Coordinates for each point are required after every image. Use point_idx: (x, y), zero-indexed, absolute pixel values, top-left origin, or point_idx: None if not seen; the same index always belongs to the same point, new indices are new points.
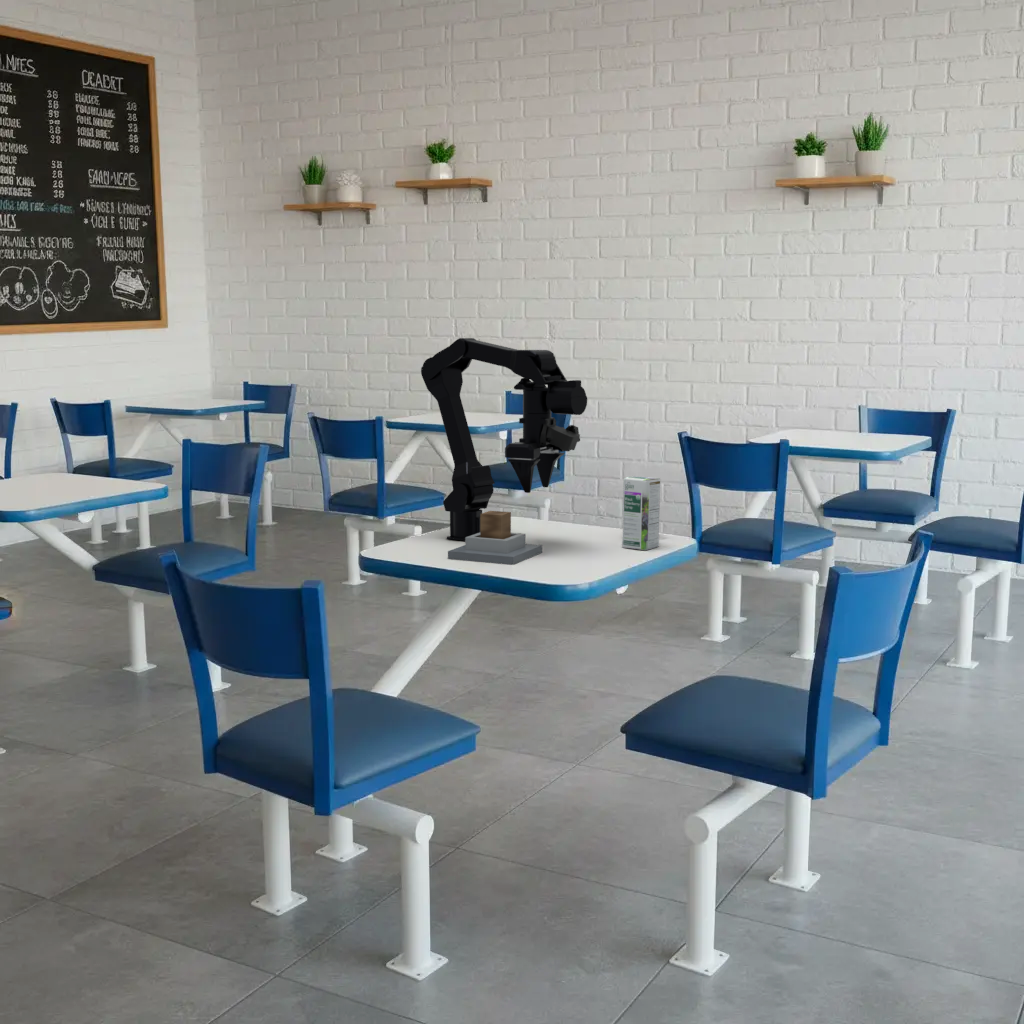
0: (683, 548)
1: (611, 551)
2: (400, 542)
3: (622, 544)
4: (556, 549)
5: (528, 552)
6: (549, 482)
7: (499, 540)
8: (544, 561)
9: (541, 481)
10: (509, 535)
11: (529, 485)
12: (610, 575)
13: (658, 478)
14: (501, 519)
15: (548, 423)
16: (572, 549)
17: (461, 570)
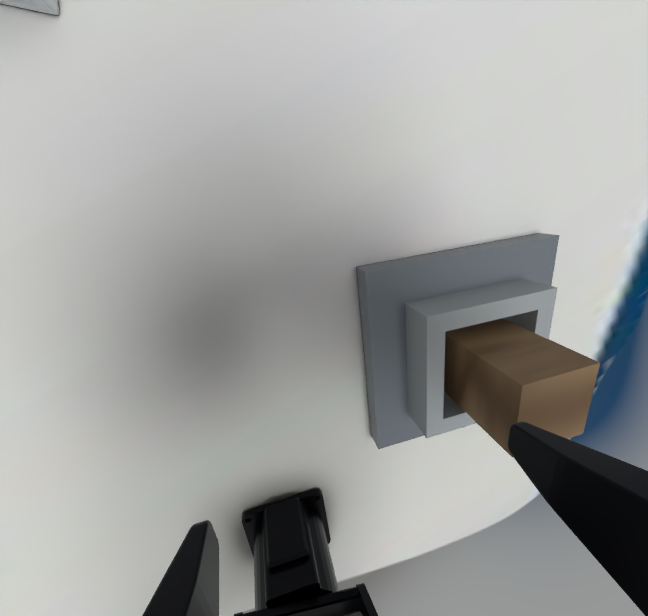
0: None
1: (182, 33)
2: (399, 559)
3: (49, 4)
4: (282, 259)
5: (462, 251)
6: (173, 562)
7: (552, 310)
8: (473, 183)
9: (217, 604)
10: (467, 340)
11: (586, 449)
12: None
13: None
14: (581, 355)
15: None
16: (248, 211)
17: (616, 293)
